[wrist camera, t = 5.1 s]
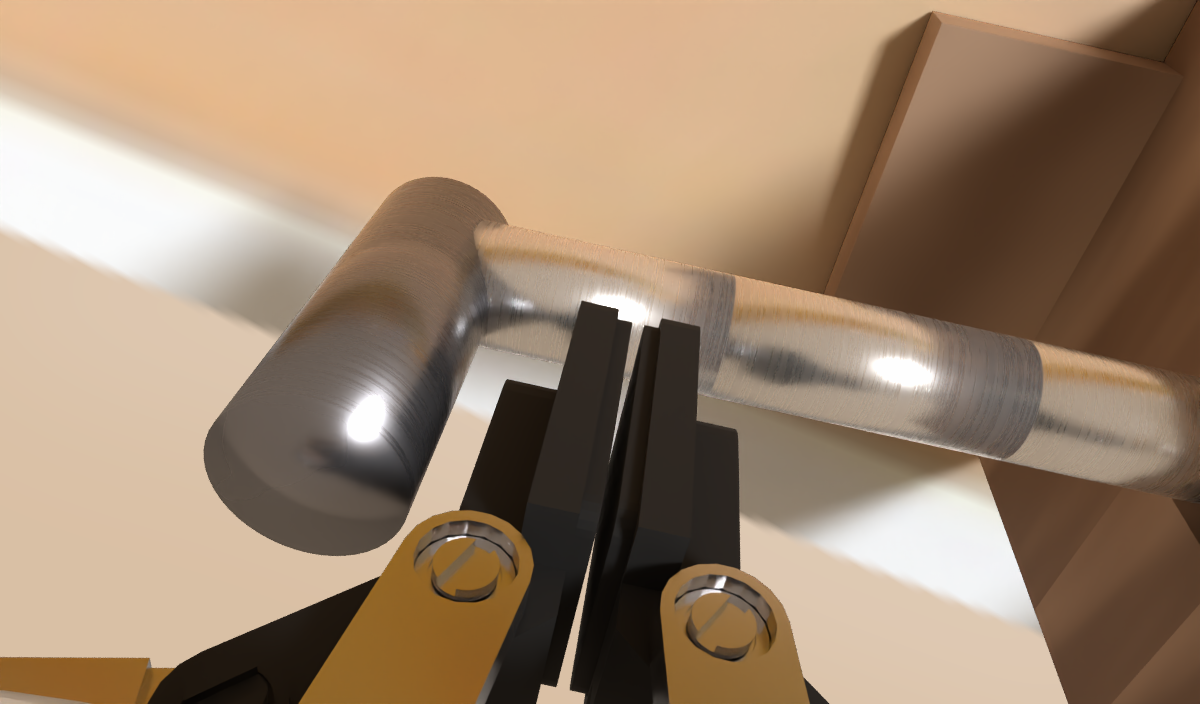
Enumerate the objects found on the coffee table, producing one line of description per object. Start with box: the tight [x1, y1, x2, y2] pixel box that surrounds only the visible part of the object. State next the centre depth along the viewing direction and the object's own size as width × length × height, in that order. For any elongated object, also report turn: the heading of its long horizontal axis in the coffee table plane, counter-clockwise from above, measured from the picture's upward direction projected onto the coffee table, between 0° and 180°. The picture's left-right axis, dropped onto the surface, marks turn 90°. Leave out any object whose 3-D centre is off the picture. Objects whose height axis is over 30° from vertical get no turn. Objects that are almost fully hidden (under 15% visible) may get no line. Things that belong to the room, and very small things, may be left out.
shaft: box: [204, 177, 1200, 556], centre depth 13 cm, size 20×2×6 cm, turn 79°
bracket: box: [823, 0, 1200, 704], centre depth 16 cm, size 7×12×12 cm, turn 169°
